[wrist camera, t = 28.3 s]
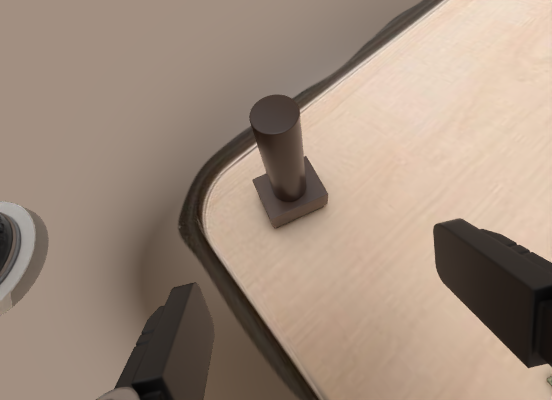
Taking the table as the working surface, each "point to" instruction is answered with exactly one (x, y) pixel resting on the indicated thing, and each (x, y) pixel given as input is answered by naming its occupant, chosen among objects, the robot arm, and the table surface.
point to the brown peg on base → (284, 162)
